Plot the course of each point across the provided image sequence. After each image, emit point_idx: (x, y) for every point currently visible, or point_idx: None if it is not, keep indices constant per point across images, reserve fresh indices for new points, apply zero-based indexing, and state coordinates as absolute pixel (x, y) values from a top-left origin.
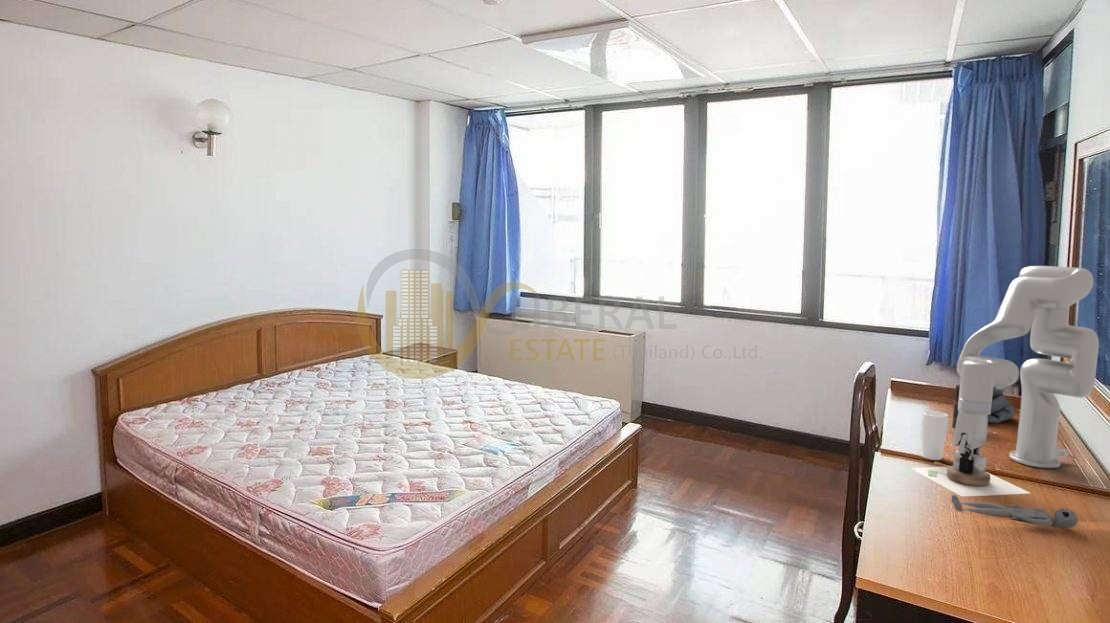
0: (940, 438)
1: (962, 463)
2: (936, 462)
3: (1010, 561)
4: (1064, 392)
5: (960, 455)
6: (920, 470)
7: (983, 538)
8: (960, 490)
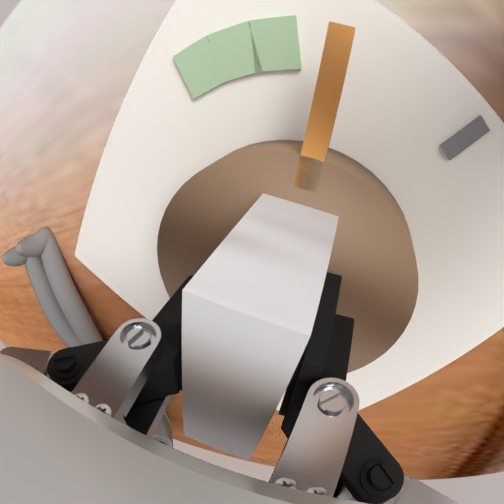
0: None
1: (170, 304)
2: (335, 40)
3: (8, 316)
4: None
5: (119, 335)
6: None
7: (13, 292)
8: (115, 244)
